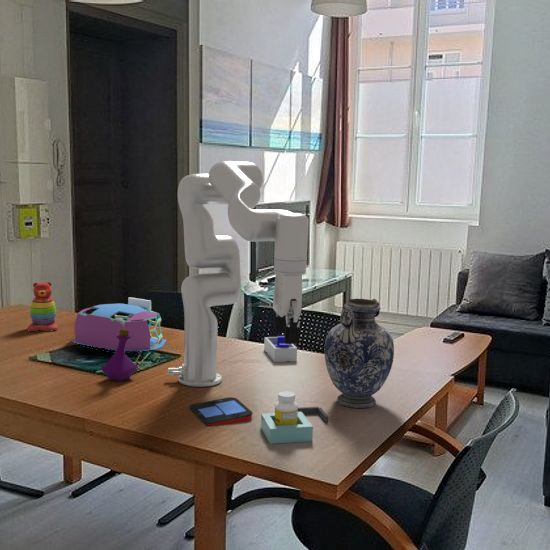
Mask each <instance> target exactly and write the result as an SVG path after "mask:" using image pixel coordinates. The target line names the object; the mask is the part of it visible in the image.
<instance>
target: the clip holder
mask: <svg viewBox="0 0 550 550" xmlns="http://www.w3.org/2000/svg"><path fill="white" fill-rule="evenodd" d="M263 341H264V342H263V343H264V345H263V346H264V347H263V350H264V352H265V353H266V352H267V353H266V354H267V355H268V356H269V358H270V357H271V358H270V359H271V360H272V361H273V362H274V363H281V362H282V363H284V362H285V363H287V362H286V361H290V362H297V359H298V347H297V346H296V344H289V348H276V347H275V346H274V345H273V344H275V345H277V336H267V337H266V336H265V337H264V340H263Z"/></svg>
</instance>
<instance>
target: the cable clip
mask: <svg viewBox="0 0 550 550" xmlns="http://www.w3.org/2000/svg"><path fill="white" fill-rule="evenodd" d="M276 337H277V345H275V344H273V345H274V346H275V347H276V348H289V344H285V342H284V339H285V335H277V336H276Z"/></svg>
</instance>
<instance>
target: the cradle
mask: <svg viewBox="0 0 550 550" xmlns="http://www.w3.org/2000/svg"><path fill="white" fill-rule="evenodd" d="M298 412H302V413H303V414H304V415H311V414H312V415H313V414H314V413H316V414H317V415H318V416H319V417H320V418H321V419H322V421H323V422H324V423H329V415H328V414H327V413H326V411H325V410H324V409H323V408H322V407H319V406H308V407H305V406H304V407H298Z"/></svg>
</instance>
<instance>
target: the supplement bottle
mask: <svg viewBox="0 0 550 550" xmlns="http://www.w3.org/2000/svg"><path fill="white" fill-rule="evenodd" d="M277 400H278V401H277V402H275V404H274V413H275V425H276V426H280V425H297V420H298V408H299V405H298V403H297V402H296V401H295V400H296V394H295V392H293V391H287V390H286V391H280V392H278V393H277Z"/></svg>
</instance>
